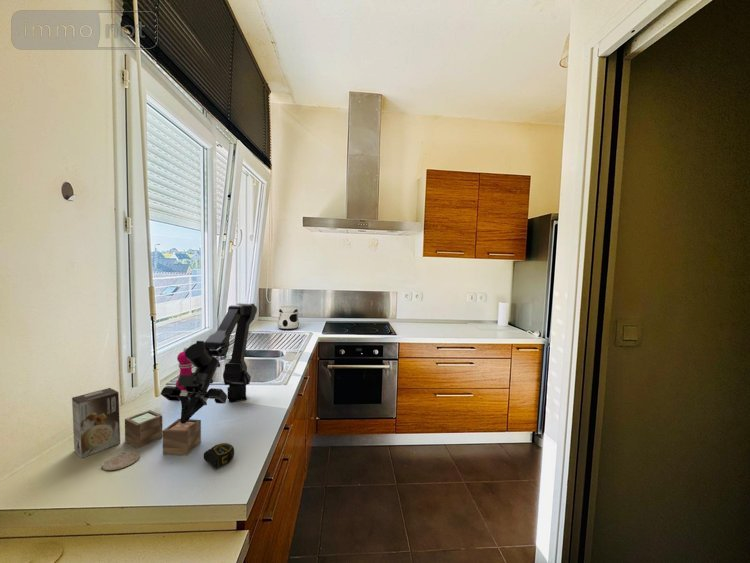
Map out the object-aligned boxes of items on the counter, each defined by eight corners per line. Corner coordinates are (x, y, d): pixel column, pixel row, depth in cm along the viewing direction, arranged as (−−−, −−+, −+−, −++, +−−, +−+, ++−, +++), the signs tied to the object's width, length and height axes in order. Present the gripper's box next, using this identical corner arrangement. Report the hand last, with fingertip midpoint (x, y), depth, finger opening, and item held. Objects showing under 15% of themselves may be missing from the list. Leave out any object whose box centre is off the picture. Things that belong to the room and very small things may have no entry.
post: (150, 430, 102) (149, 409, 101) (162, 436, 99) (162, 415, 98) (125, 441, 96) (124, 419, 95) (137, 448, 92) (137, 425, 92)
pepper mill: (171, 396, 127) (171, 348, 126) (189, 390, 134) (189, 344, 133) (182, 400, 124) (182, 351, 123) (199, 393, 130) (199, 346, 129)
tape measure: (202, 462, 87) (202, 449, 87) (226, 451, 93) (226, 439, 93) (214, 473, 83) (214, 459, 83) (238, 460, 89) (238, 448, 88)
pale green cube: (148, 426, 100) (148, 412, 100) (156, 430, 98) (156, 416, 98) (131, 433, 96) (130, 419, 96) (139, 438, 94) (139, 423, 94)
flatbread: (135, 450, 92) (135, 447, 92) (142, 462, 87) (142, 458, 87) (99, 463, 85) (98, 460, 85) (104, 476, 81) (104, 473, 80)
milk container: (273, 328, 260) (274, 306, 259) (292, 325, 271) (293, 305, 270) (283, 331, 247) (283, 309, 246) (302, 329, 259) (303, 307, 258)
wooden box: (178, 440, 97) (178, 418, 97) (200, 441, 97) (200, 419, 96) (162, 454, 90) (162, 430, 90) (186, 455, 90) (186, 432, 89)
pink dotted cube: (180, 435, 96) (179, 421, 96) (195, 436, 96) (195, 421, 95) (169, 444, 91) (168, 429, 91) (185, 445, 91) (185, 430, 91)
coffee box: (112, 436, 98) (111, 386, 97) (120, 443, 94) (120, 391, 94) (72, 451, 90) (71, 397, 89) (80, 459, 87) (79, 403, 86)
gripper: (164, 361, 98) (136, 412, 87) (222, 363, 97) (201, 415, 86) (181, 376, 106) (157, 424, 96) (234, 379, 105) (216, 428, 95)
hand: (182, 423), depth 93 cm, fingers closed
